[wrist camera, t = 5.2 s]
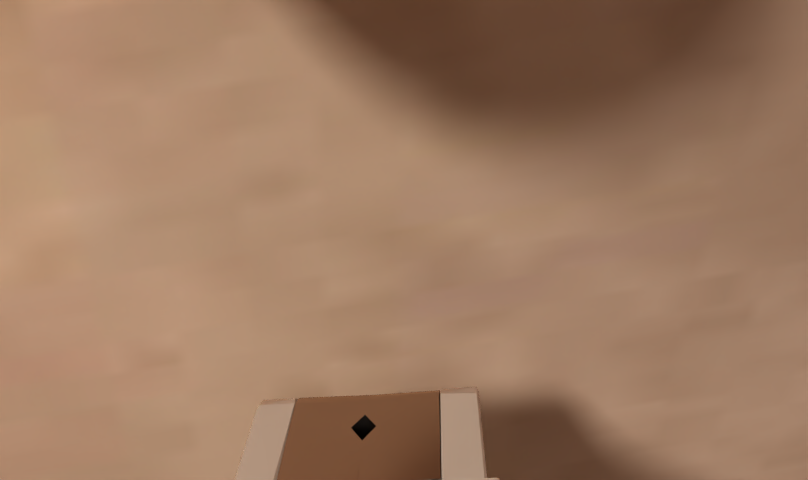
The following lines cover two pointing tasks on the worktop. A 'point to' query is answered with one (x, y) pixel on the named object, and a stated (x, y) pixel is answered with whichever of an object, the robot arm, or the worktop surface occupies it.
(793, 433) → the worktop surface
